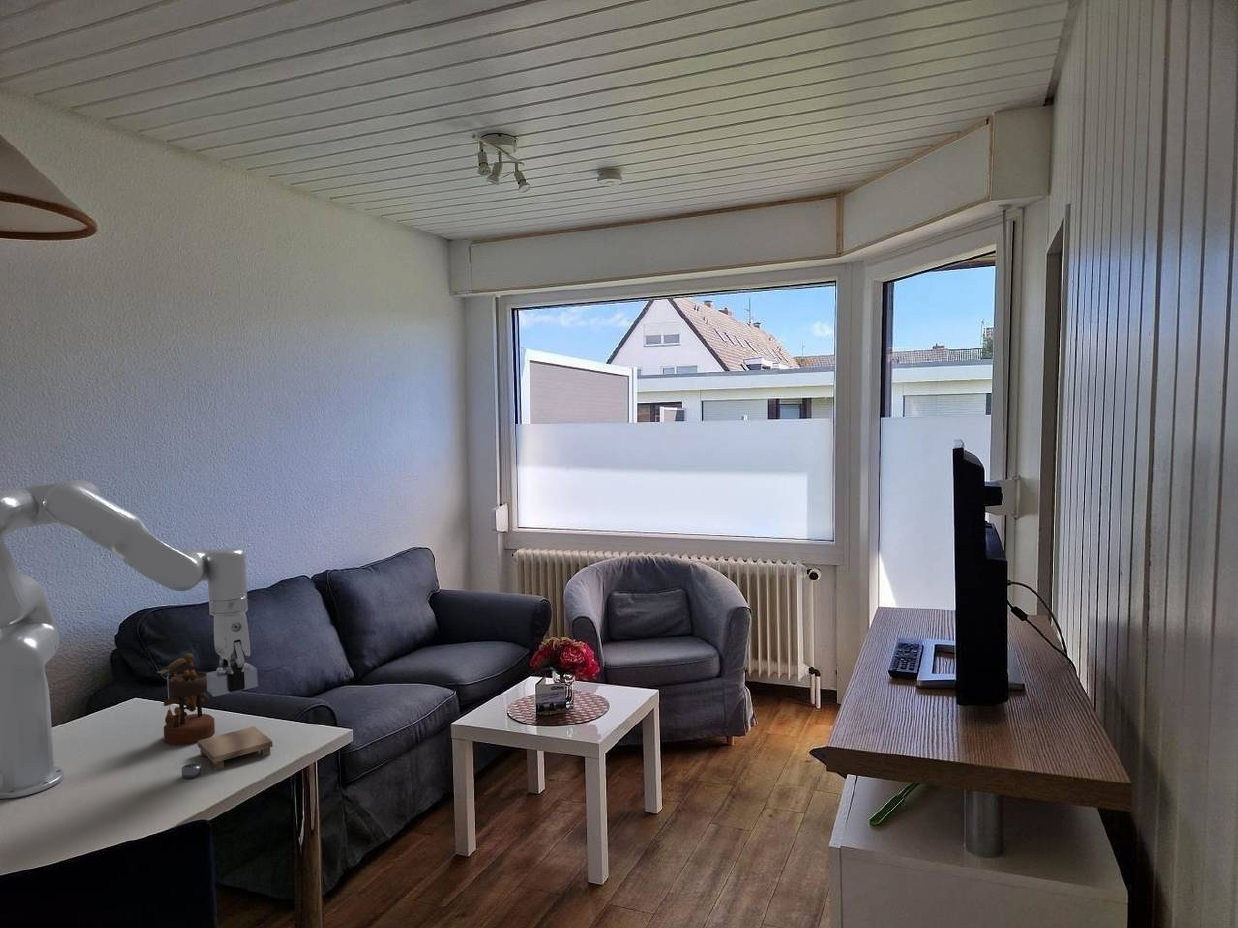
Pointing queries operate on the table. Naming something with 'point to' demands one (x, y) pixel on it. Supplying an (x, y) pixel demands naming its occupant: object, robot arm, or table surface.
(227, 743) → the stand
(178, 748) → the table surface
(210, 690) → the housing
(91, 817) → the table surface
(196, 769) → the dark grey round piece
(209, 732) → the music box
